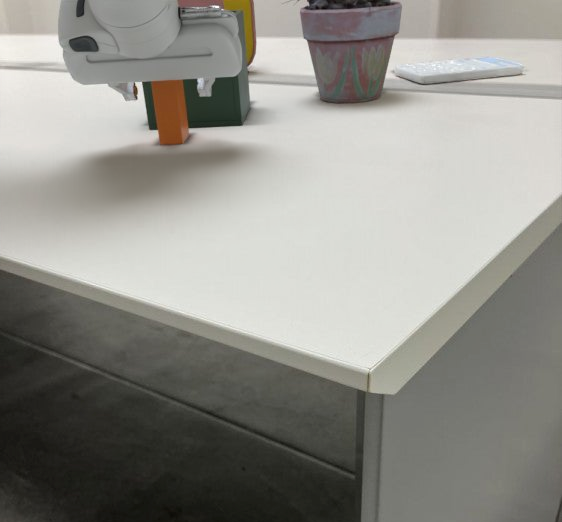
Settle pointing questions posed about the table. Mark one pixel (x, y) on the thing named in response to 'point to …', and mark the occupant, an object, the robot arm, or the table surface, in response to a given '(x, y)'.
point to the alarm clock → (232, 2)
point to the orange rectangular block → (170, 111)
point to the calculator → (458, 70)
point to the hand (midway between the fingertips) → (168, 94)
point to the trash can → (212, 96)
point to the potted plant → (350, 46)
